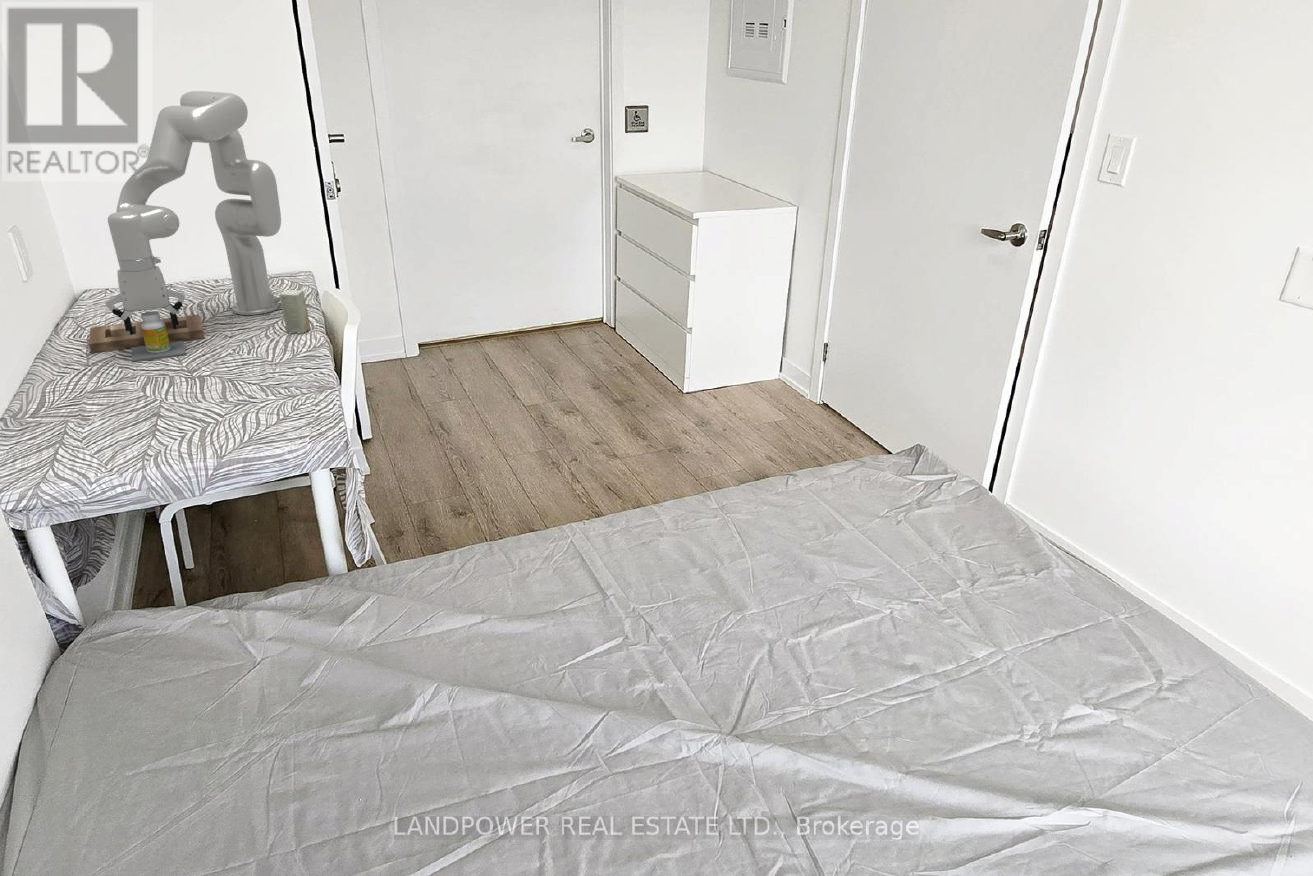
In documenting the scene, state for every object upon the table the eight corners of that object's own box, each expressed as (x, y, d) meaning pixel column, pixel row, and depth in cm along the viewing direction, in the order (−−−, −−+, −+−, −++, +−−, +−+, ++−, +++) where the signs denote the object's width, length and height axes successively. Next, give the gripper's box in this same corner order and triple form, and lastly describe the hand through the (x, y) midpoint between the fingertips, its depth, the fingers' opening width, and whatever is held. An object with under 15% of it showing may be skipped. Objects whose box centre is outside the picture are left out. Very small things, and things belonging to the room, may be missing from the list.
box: (311, 328, 237) (304, 290, 232) (303, 334, 233) (297, 294, 228) (293, 327, 237) (286, 289, 232) (285, 333, 233) (278, 293, 228)
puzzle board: (201, 322, 239) (199, 314, 238) (204, 338, 228) (202, 329, 227) (92, 336, 227) (90, 327, 226) (91, 353, 216) (88, 344, 215)
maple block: (131, 337, 227) (128, 323, 226) (131, 342, 224) (128, 328, 222) (114, 339, 226) (110, 325, 224) (114, 344, 223) (110, 330, 221)
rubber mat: (184, 342, 225) (183, 340, 225) (186, 354, 217) (185, 352, 217) (132, 349, 220) (131, 347, 219) (132, 362, 212) (131, 360, 212)
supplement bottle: (163, 354, 216) (154, 317, 212) (142, 353, 216) (133, 316, 212) (175, 346, 221) (166, 310, 216) (154, 345, 221) (145, 309, 216)
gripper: (176, 256, 215) (190, 321, 223) (96, 263, 207) (114, 330, 215) (177, 263, 209) (192, 330, 217) (95, 271, 201) (114, 340, 209)
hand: (153, 330), depth 216 cm, fingers open, 9 cm apart
